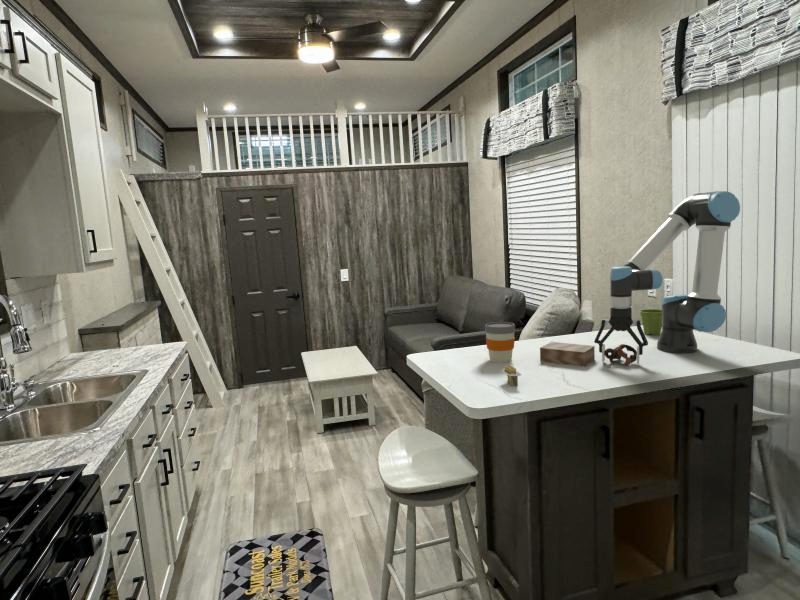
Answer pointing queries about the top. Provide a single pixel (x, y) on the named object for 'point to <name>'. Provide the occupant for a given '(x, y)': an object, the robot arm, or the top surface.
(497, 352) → the reusable coffee cup
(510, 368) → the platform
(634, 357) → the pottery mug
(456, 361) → the top surface
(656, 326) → the plant pot
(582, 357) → the walnut box
